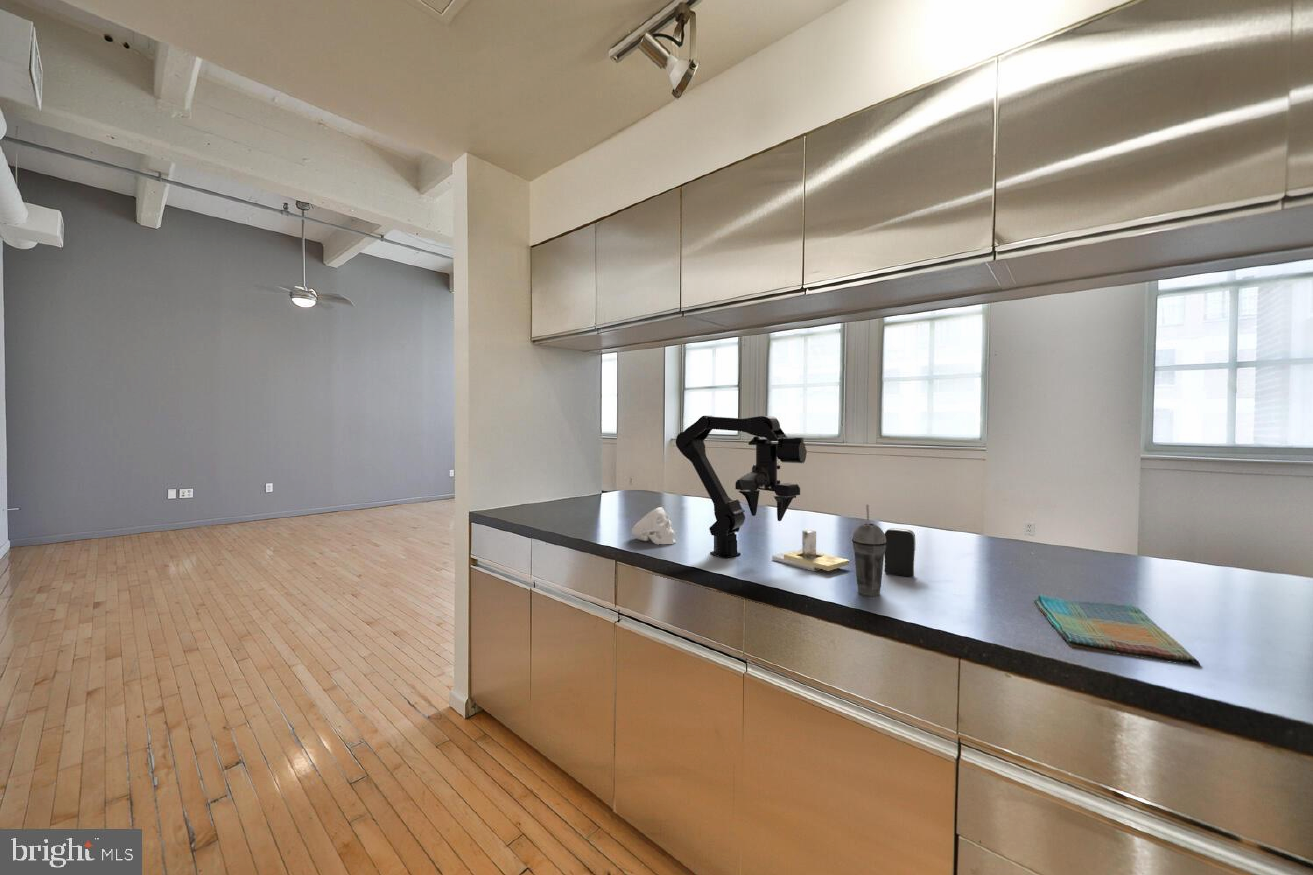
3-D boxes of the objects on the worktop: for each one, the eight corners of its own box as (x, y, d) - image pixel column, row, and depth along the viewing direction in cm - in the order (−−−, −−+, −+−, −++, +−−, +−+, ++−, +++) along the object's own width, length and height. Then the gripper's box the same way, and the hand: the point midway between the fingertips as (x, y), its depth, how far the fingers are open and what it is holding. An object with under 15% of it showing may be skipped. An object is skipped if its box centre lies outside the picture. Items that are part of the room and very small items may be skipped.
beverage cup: (891, 592, 113) (892, 503, 112) (879, 600, 107) (880, 507, 107) (858, 585, 118) (859, 500, 117) (846, 593, 112) (846, 504, 112)
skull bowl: (669, 543, 153) (651, 508, 156) (639, 562, 160) (622, 527, 163) (687, 536, 162) (670, 503, 165) (657, 554, 169) (641, 522, 172)
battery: (916, 574, 126) (916, 529, 125) (914, 578, 122) (914, 531, 122) (886, 569, 130) (886, 526, 129) (883, 573, 126) (883, 528, 126)
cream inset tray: (772, 559, 139) (772, 551, 139) (793, 554, 145) (793, 546, 145) (828, 575, 125) (828, 566, 125) (849, 569, 130) (849, 560, 130)
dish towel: (1139, 617, 99) (1140, 604, 99) (1204, 670, 78) (1204, 654, 78) (1032, 604, 106) (1032, 592, 106) (1065, 649, 85) (1065, 634, 85)
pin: (799, 564, 135) (799, 531, 135) (807, 561, 137) (807, 529, 137) (810, 567, 132) (810, 533, 132) (818, 564, 134) (819, 531, 134)
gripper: (721, 461, 140) (721, 516, 140) (773, 465, 125) (773, 527, 125) (749, 459, 147) (749, 512, 147) (801, 463, 131) (801, 522, 132)
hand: (766, 518), depth 138 cm, fingers open, 9 cm apart
